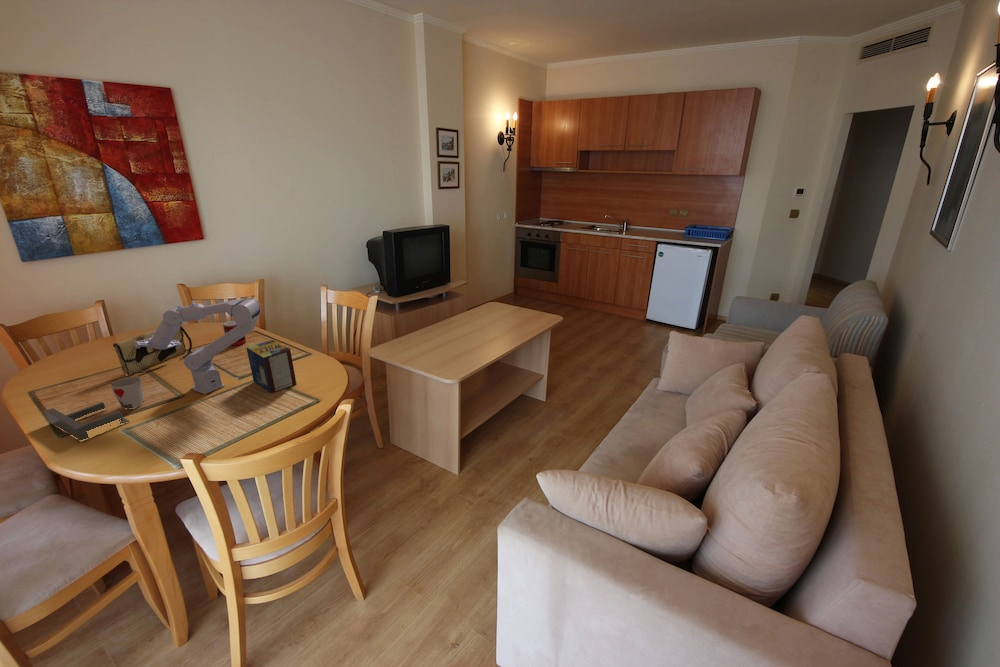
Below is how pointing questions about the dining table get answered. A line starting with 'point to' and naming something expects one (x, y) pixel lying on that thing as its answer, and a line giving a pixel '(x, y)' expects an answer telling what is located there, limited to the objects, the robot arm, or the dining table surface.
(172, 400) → the dining table surface
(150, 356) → the clutch purse
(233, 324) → the canned food
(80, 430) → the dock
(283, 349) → the protein box
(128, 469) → the dining table surface
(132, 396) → the cup
